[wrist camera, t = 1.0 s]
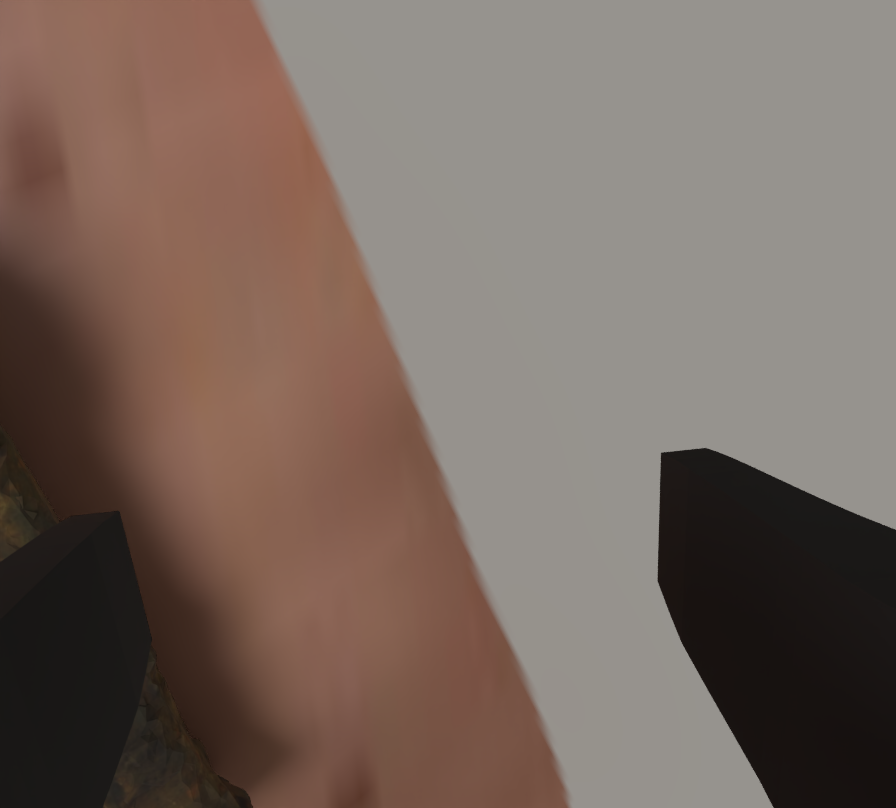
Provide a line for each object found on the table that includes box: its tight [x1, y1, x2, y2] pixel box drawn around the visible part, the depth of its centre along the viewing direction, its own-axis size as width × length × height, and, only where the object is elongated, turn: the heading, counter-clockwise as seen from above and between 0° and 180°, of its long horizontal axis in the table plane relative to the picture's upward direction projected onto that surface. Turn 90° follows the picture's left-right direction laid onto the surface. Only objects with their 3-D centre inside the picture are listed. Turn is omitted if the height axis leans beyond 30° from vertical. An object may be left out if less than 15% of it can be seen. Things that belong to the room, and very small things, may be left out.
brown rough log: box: [0, 424, 253, 808], centre depth 21 cm, size 19×4×5 cm, turn 19°
